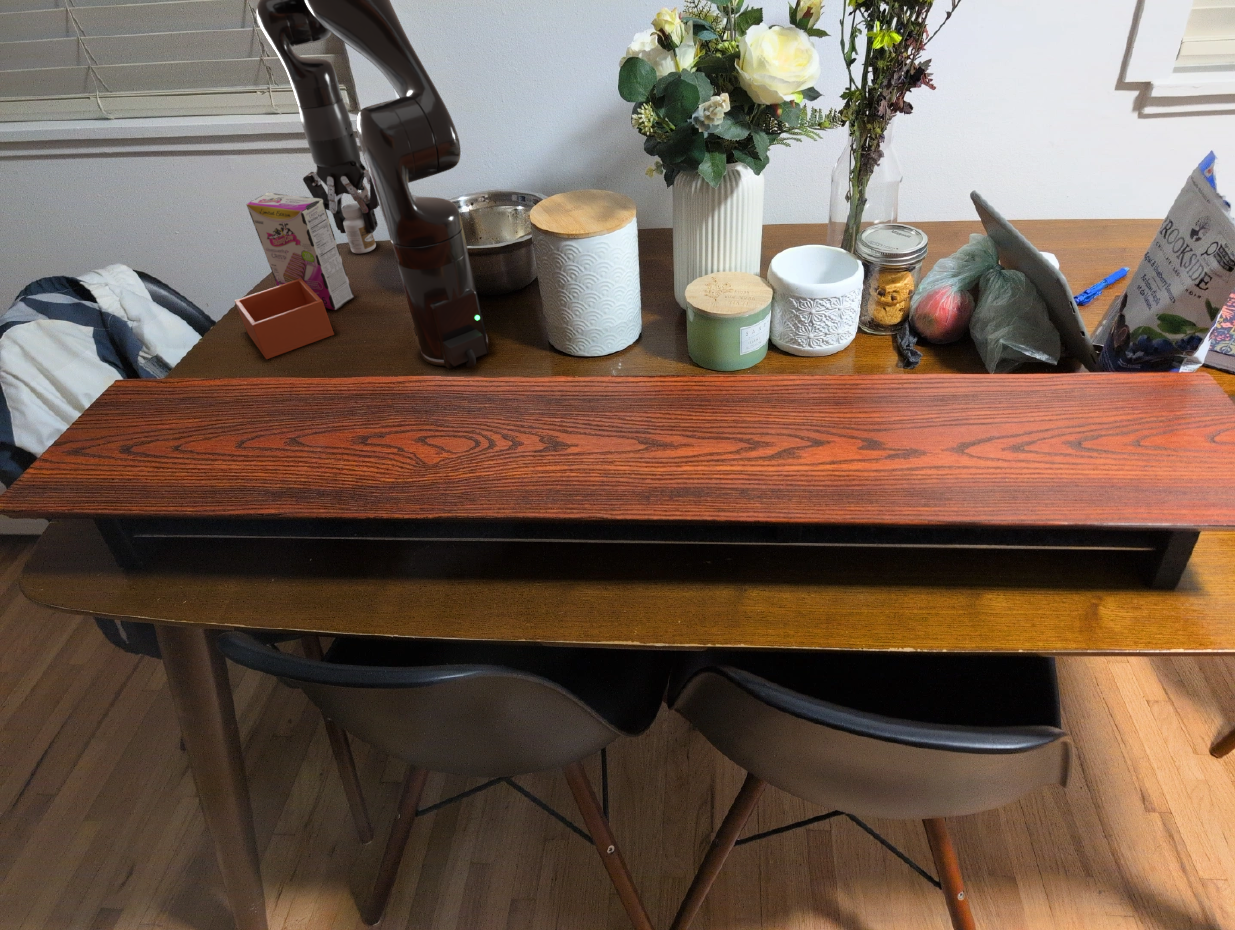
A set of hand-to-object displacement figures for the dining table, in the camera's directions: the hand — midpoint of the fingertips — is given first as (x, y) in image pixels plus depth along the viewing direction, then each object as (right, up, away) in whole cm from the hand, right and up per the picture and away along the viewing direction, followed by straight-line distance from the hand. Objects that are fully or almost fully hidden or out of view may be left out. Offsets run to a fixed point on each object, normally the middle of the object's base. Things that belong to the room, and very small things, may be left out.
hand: (358, 230), depth 148 cm
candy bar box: (-3, -15, -12) cm, 19 cm away
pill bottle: (0, -3, +2) cm, 4 cm away
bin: (-4, -21, -21) cm, 30 cm away
